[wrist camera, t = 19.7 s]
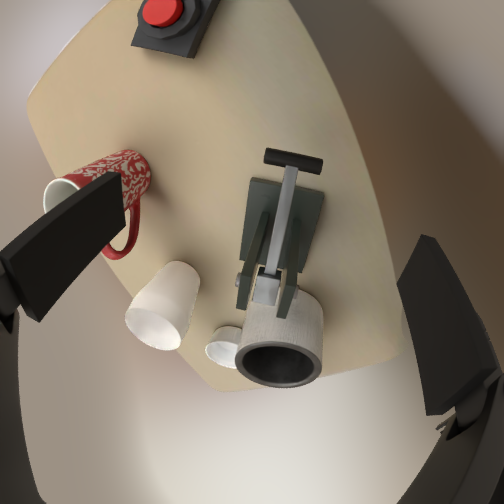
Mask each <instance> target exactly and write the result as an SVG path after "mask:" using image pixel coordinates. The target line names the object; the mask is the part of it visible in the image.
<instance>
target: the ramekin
mask: <svg viewBox="0 0 504 504" xmlns="http://www.w3.org/2000/svg"><path fill="white" fill-rule="evenodd" d="M241 332H242V329H240V328H237V327H232V326H225V327H220V328H218V329H217V330H216V331H215V332H214V333H213V335H212V337H211V339H210V341H209V343H208V344H207V346H206V348H205V352H206V354H207V356H208V357H209V358H210V359H211V360H212V361H214V362H215V363H217V364H219V365H221V366H224V367H228V368H236V369H237V367H236V365H235V355H236V351H237V348H238V344H239V340H240V336H241Z"/></svg>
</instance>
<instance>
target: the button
mask: <svg viewBox="0 0 504 504" xmlns="http://www.w3.org/2000/svg"><path fill="white" fill-rule="evenodd" d="M182 12H183V4H182V2H181V0H148V2H147V3H146V4H145V6H144V8H143V18H144V20H145V21H146V22H147V23H149V24H152V25H156V26H160V27H165V26H169V25H171V24H173V23H174V22H176V21H177V20H178V19H179V18H180V16H181V14H182Z"/></svg>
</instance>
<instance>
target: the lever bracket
mask: <svg viewBox="0 0 504 504" xmlns="http://www.w3.org/2000/svg"><path fill="white" fill-rule="evenodd" d="M281 188H282V183H278V182H273V181H268V180H263V179H258V178H253V177H252V178H251V180H250V185H249V192H248V199H247V207H246V214H245V221H244V229H243V236H242V243H241V251H240V260H243V261H245V263H244V266H243V269H242V272H241V273H238V275H237V278H236V283H235V286H236V287H239V290H238V297H237V304H236V308H237V309H241V310H246V308H247V304H248V301H249V297H250V293H251V290H252V286H253V282H254V279H255V275H256V271H257V267H258V264H261V265H266V261H267V257H268V252H269V247H270V242H271V237H272V232H273V228H274V223H275V218H276V213H277V208H278V203H279V198H280V193H281ZM323 199H324V193H323V192H319V191H315V190H311V189H306V188H302V187H297V186H295V188H294V193H293V198H292V203H291V208H290V212H289V217H288V222H287V226H286V231H285V235H284V240H283V245H282V249H281V254H280V258H279V262H278V267H277V268H280V269H283V275H282V282H281V288H280V295H279V301H278V307H277V314H276V317H277V318H281V319H286V317H287V314H288V311H289V308H290V305H291V302H292V299H296V298H297V295H298V290H299V285H297V273H298V272H299V273H302V271H303V268H304V264H305V261H306V258H307V255H308V251H309V248H310V245H311V241H312V238H313V234H314V231H315V227H316V224H317V220H318V217H319V213H320V210H321V206H322V202H323Z"/></svg>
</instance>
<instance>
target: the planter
mask: <svg viewBox="0 0 504 504" xmlns="http://www.w3.org/2000/svg"><path fill="white" fill-rule="evenodd" d="M280 288H281V287H279V290H278V294H277V298H276V302H275V306H270V305H266V304H261V303H257V302H252V300H251V302H250V304H249V306H248V308H247V312H246V316H245V320H244V324H243V328H242V332H241V336H240V340H239V344H238V348H237V351H236V355H235V365H236V367H237V369H238V371H239V372H240V373H241V374H242V375H244V376H245V377H246V378H248V379H249V380H251V381H253V382H256V383H258V384H261V385H264V386H269V387H275V388H293V387H299V386H303V385H306V384H308V383H310V382H312V381H314V380H315V379H316V378H317V377H318V376H319V375H320V373H321V370H322V350H323V311H322V308H321V305H320V304H319V302H318V301H317V300H316V299H315V298H314V297H312V296H311V295H310V294H308V293H306V292H304V291H301V290H298V295H297V298H296V299H292V302H291V305H290V308H289V311H288V314H287V317H286V319H281V318H277V317H276V314H277V307H278V301H279V295H280Z"/></svg>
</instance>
